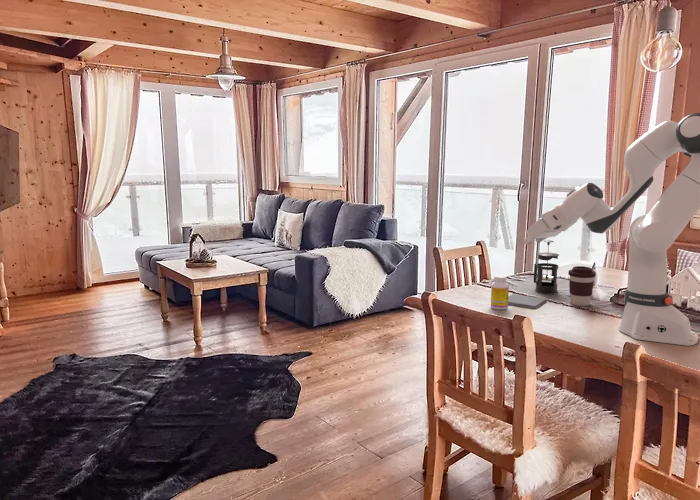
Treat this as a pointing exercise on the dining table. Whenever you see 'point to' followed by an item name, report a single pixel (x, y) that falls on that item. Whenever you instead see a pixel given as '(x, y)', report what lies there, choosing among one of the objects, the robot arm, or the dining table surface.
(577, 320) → the dining table surface
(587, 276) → the coffee cup
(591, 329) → the dining table surface
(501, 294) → the supplement bottle
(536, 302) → the mat
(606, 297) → the dining table surface
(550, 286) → the french press
